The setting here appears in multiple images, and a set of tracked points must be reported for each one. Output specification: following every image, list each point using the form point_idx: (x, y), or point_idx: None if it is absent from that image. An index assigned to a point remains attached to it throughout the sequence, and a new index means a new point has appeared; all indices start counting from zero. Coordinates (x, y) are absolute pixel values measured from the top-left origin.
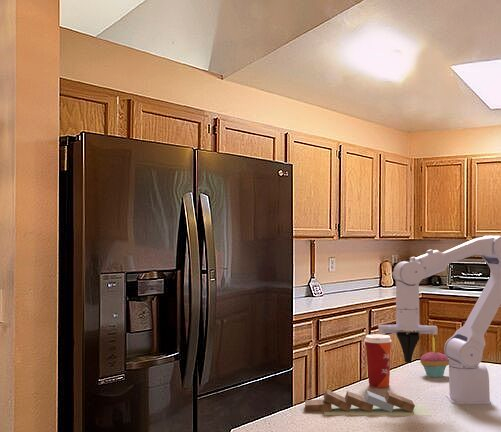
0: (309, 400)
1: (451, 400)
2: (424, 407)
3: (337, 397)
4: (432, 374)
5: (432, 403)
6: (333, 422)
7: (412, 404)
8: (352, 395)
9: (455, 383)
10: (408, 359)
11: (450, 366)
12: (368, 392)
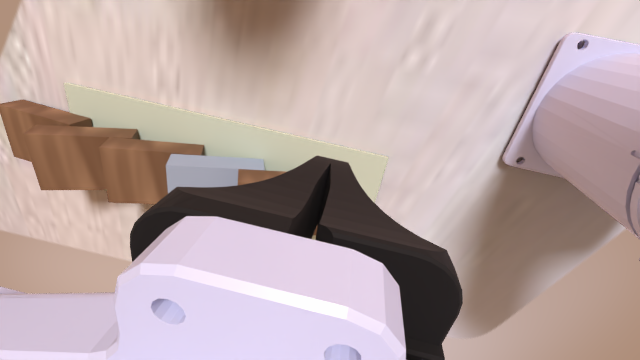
0: (10, 111)
1: (517, 141)
2: (375, 184)
3: (82, 177)
4: None
5: (436, 130)
6: (116, 231)
7: (314, 234)
8: (123, 182)
9: (571, 176)
10: (317, 221)
11: (637, 174)
12: (170, 185)
